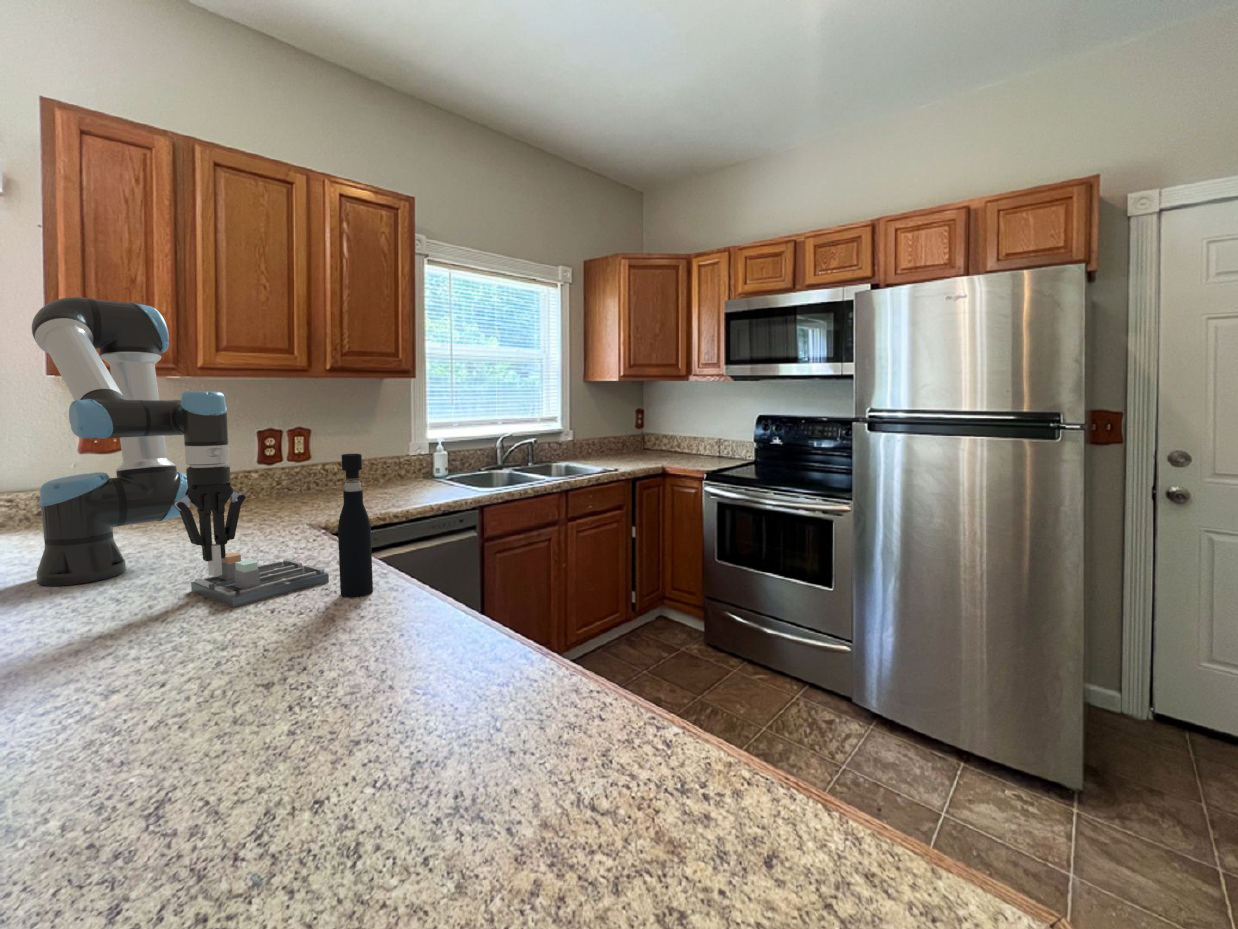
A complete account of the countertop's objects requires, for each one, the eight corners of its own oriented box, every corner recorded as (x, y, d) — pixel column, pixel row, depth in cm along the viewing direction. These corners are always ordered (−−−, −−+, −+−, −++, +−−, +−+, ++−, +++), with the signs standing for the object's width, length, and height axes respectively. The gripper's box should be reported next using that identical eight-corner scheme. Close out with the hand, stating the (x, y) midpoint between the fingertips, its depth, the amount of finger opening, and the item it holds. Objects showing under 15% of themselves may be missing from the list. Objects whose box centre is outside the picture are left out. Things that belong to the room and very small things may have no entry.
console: (191, 591, 125) (190, 578, 125) (285, 569, 142) (285, 557, 142) (233, 608, 116) (232, 594, 115) (328, 582, 132) (328, 570, 132)
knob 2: (235, 586, 122) (233, 562, 121) (250, 583, 124) (249, 559, 124) (244, 590, 120) (243, 565, 119) (260, 586, 122) (258, 562, 122)
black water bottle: (364, 598, 122) (359, 456, 119) (334, 597, 122) (328, 455, 119) (378, 588, 128) (373, 453, 125) (349, 588, 129) (343, 452, 125)
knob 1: (219, 578, 127) (218, 554, 127) (234, 574, 130) (233, 552, 129) (228, 581, 125) (227, 557, 125) (243, 577, 128) (242, 554, 127)
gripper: (179, 469, 115) (187, 585, 117) (250, 463, 126) (256, 570, 128) (163, 466, 119) (172, 579, 121) (233, 461, 130) (240, 564, 132)
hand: (215, 574), depth 125 cm, fingers closed
